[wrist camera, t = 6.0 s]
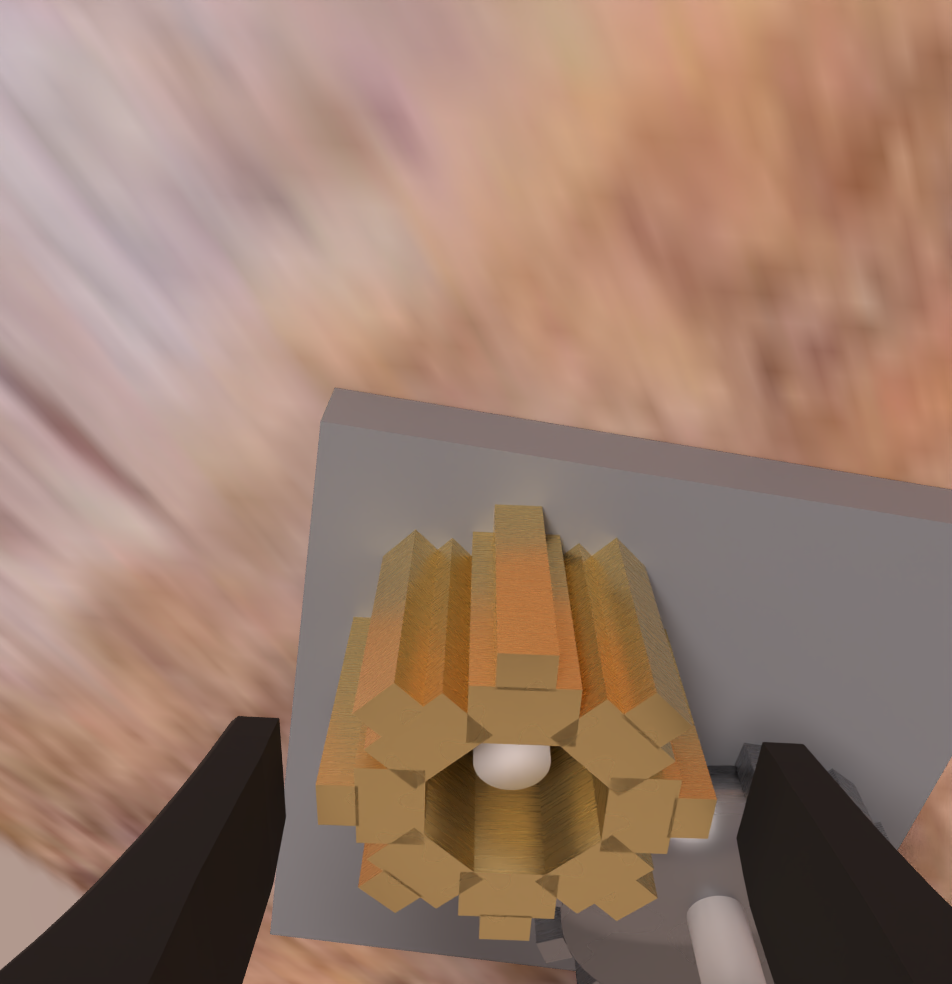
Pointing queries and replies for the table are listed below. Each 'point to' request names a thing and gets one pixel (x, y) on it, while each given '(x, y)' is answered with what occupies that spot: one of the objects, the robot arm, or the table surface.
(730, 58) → the table surface
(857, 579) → the gear board
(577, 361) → the table surface
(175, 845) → the robot arm
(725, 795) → the gear
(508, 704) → the brass gear
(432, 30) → the table surface
